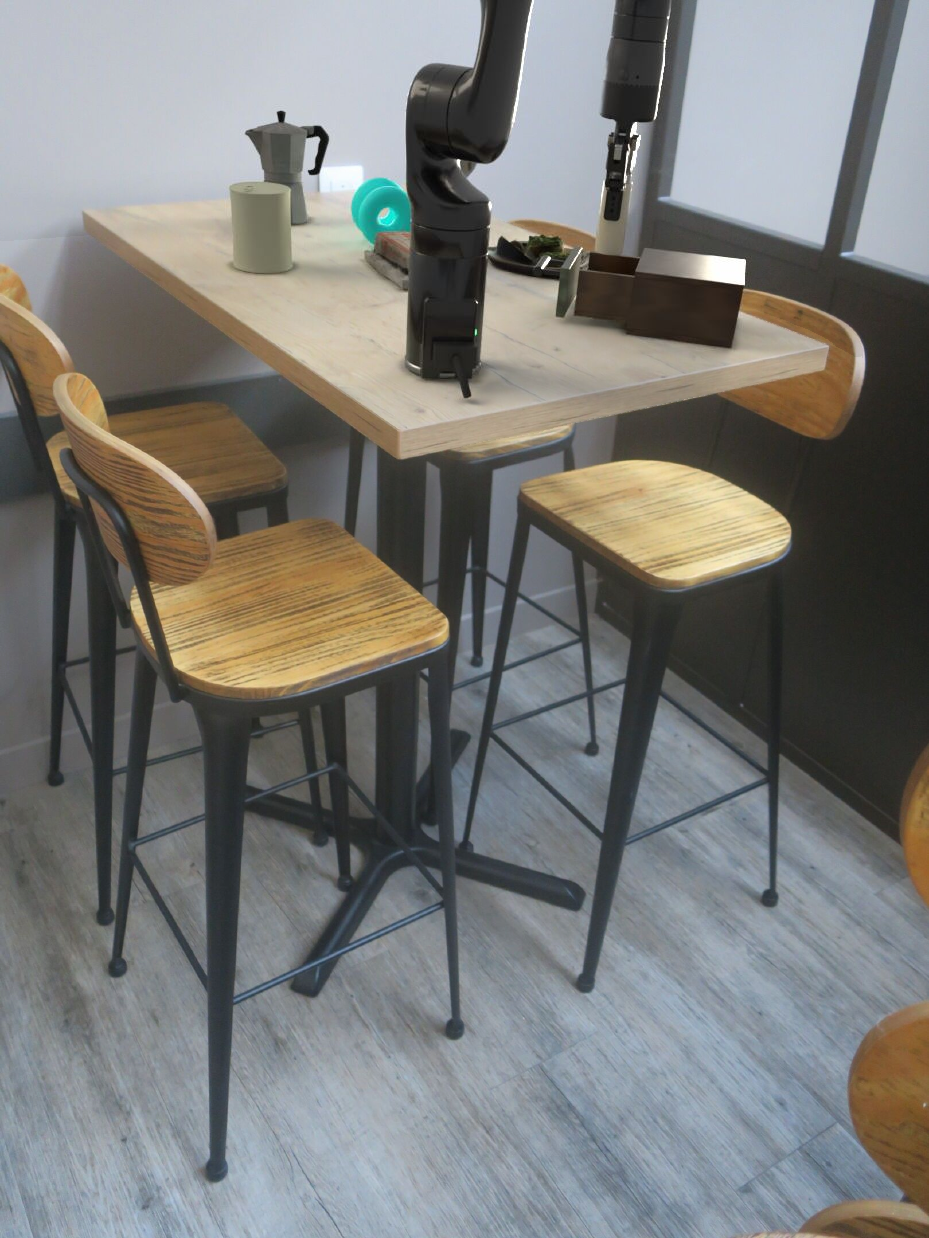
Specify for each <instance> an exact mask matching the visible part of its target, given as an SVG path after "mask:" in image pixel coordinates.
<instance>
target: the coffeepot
mask: <svg viewBox="0 0 929 1238" xmlns="http://www.w3.org/2000/svg"><path fill="white" fill-rule="evenodd" d="M286 114H287V112H286V111H284V110H278V111H276V116H277V121H275V122H271V123H268V124H263V125H258V126H256V127H255V128H248V129H247V130H246V131H245V132H244V135H245V136H246V137H248V138H249V140H250V141H251V143H252V145H253V147H254V148H255V150H256V152H257V153H258V155H259V159H260V165H261V170H262V171H263V182H270V183H277V184H282V185H285V186H288V187H289V188H290V189H291V192H290V212H291V226H293V225H300V224H304V223H308V221H309V213H308V207H307V201H306V195H305V189H304V184H303V183H304V182H303V179H302V178H303V176H302V173H303V169H304V161H305V154H306V153H305V152H306V144H307V140H308V139H313V138H317V137H318V138H319V141H318V145H317V152H316V155H315V157H314V167H313V168H311V169H307V173H308V175H309V176H317V175H320V173H321V171H322V166H323V163H324V159H325V156H326V153H327V149H328V146H329V144H330V136H329V134H328V132H327V131H326V130H325V129H324V128H323V126H322V125H317V124H316V125H301V126H298V125H295V124H291V123H288V122H286Z"/></svg>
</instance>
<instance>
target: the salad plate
mask: <svg viewBox="0 0 929 1238" xmlns="http://www.w3.org/2000/svg"><path fill="white" fill-rule="evenodd" d="M572 250H573V248H568V247H565V245H564V241H563V237H560V236H559V235H556V236H554V234H549V235H548V236H546V235H545V234H544V233H541V234H540V235H529V236H528V240H515V239H514V240H511V241H510V240H508V239H507V238H506V237H505V236H503V235H501V236H500V237H498V240H497V243H496V246H489V250H488V261H489V262H490V264H491V265H492V266H493V267H494V268H496V269H499V270H501V271H505V272H510V273H515V274H519V275H523V276H529V277H535V278H543V279H560V276H556V275H549V274H543V273H542V275H541V276H535V275H534V273H533V269H534V268H535V266H536V265H537V263H538V262H539V261H540V259H541V258H542V257H543V256H544V255H547V256H549V257H550V259H555V260H563V261H566V259H567V258H568V256H569V255H570V253H571V252H572ZM589 254H590V251H587V250H584V249H582V255H581V263H580V269H583V270H585V269H586V268H588V262H589ZM561 267H562V265H554V264H550V263H549V265H548V266H547V268H546V269H550V270H558V271H561Z"/></svg>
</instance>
